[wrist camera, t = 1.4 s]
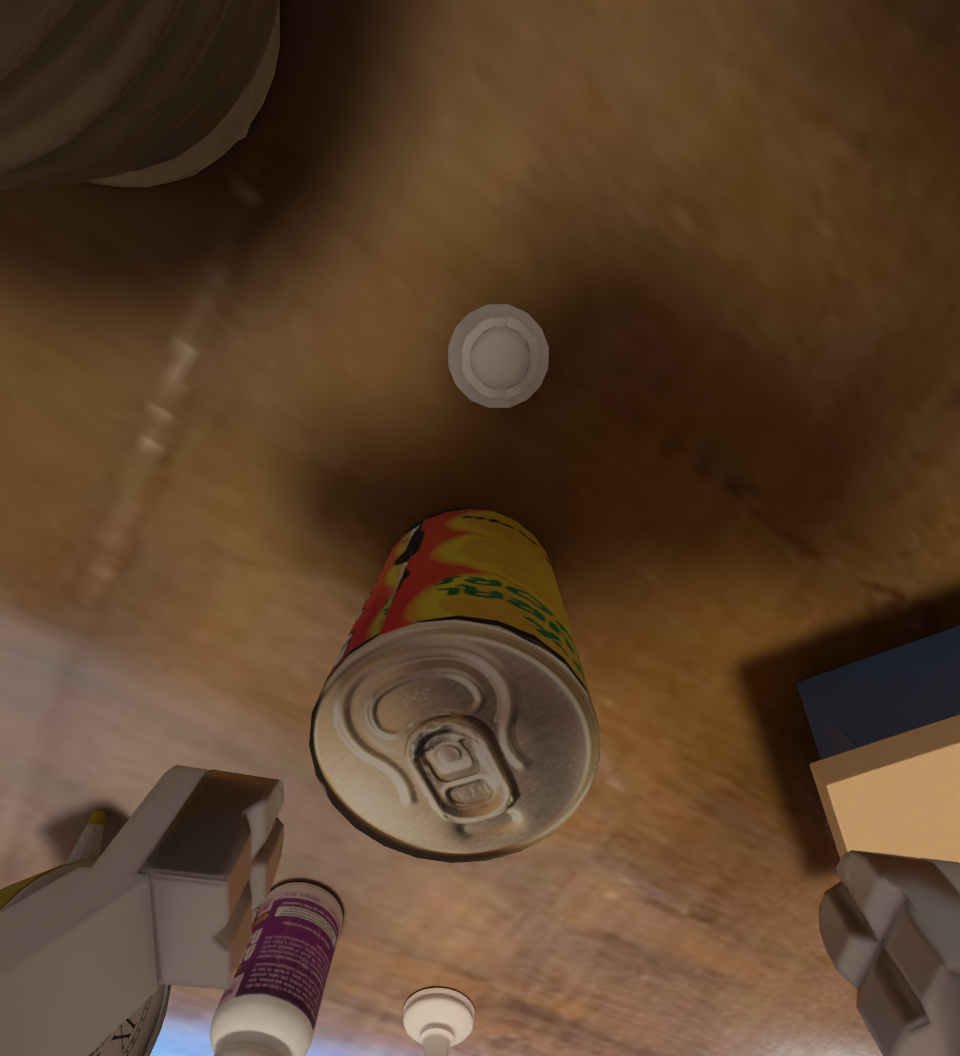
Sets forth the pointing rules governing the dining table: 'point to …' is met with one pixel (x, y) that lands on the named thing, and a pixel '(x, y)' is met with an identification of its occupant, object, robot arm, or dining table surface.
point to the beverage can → (458, 697)
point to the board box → (891, 749)
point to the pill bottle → (280, 975)
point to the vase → (128, 87)
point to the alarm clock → (138, 1033)
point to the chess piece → (438, 1019)
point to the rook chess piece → (498, 356)
